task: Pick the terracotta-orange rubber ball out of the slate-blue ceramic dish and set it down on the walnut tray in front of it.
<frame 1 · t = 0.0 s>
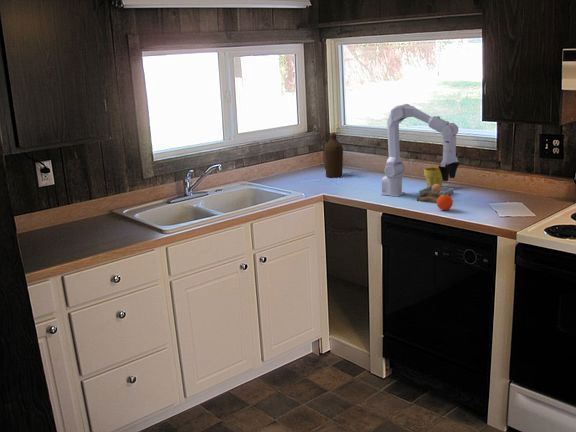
hand: (448, 179, 290), 10 cm above the counter, tool pointing down, fingers open, 7 cm apart
olive oil: (334, 176, 358), on the counter
plant pot: (434, 188, 320), on the counter
ball: (436, 188, 305), point 3 cm above the counter, touching dish
tray: (432, 200, 295), on the counter
clementine: (443, 210, 278), on the counter
dish: (436, 194, 306), on the counter
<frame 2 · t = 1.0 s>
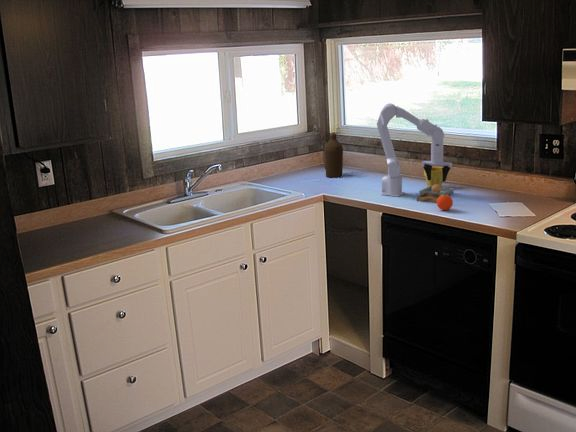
hand: (436, 180, 304), 7 cm above the counter, tool pointing down, fingers open, 7 cm apart
nothing on the counter moved.
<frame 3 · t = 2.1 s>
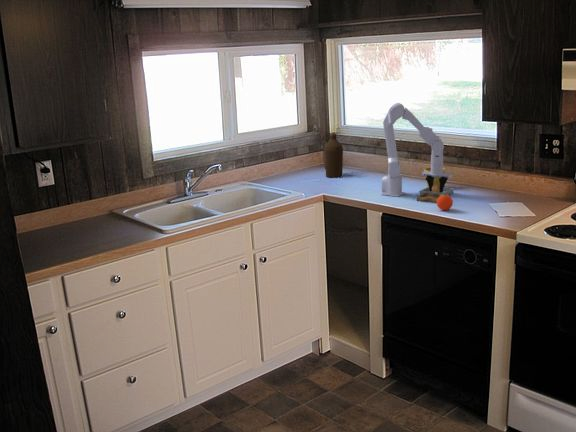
hand: (436, 191, 305), 1 cm above the counter, tool pointing down, fingers closed on ball, 4 cm apart
ball: (436, 188, 305), point 3 cm above the counter, touching dish, gripper
everything else where it was.
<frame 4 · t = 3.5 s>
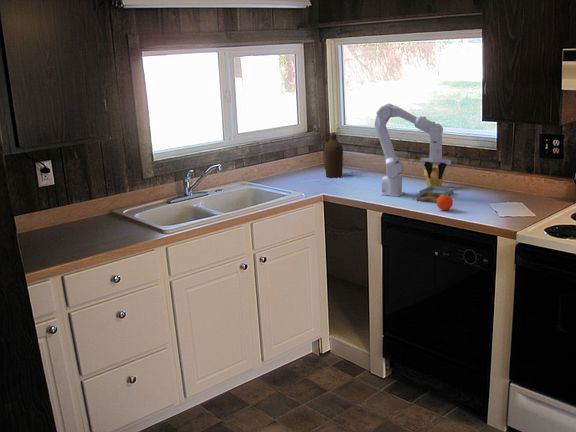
hand: (435, 178, 300), 9 cm above the counter, tool pointing down, fingers closed on ball, 4 cm apart
ball: (435, 175, 299), point 10 cm above the counter, touching gripper
everything else where it was.
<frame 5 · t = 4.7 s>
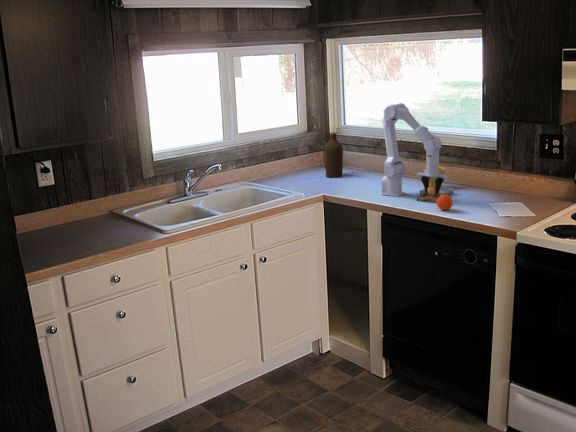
hand: (432, 192, 294), 4 cm above the counter, tool pointing down, fingers closed on ball, 4 cm apart
ball: (432, 189, 294), point 5 cm above the counter, touching gripper
everything else where it was.
when the fingers open (3 cm above the counter, at t = 5.3 s): ball drops 1 cm, resting on tray.
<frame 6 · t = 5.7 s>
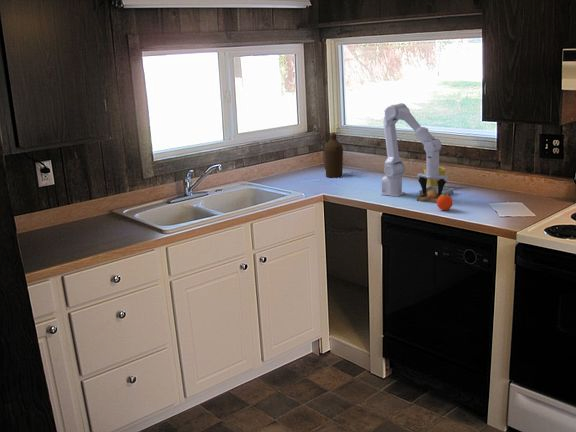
hand: (432, 194, 295), 3 cm above the counter, tool pointing down, fingers open, 7 cm apart
ball: (432, 193, 294), point 3 cm above the counter, touching tray
everything else where it was.
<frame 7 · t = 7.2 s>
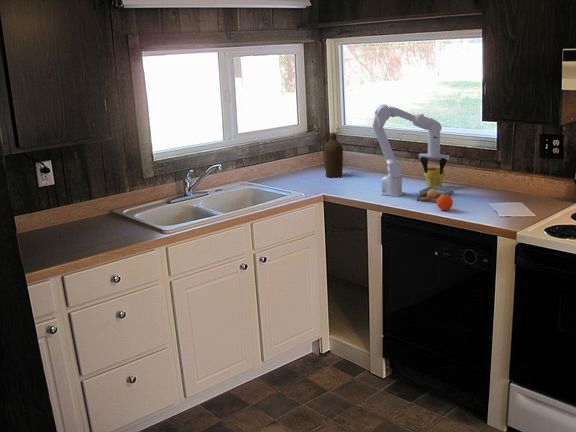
hand: (433, 173, 306), 10 cm above the counter, tool pointing down, fingers open, 7 cm apart
nothing on the counter moved.
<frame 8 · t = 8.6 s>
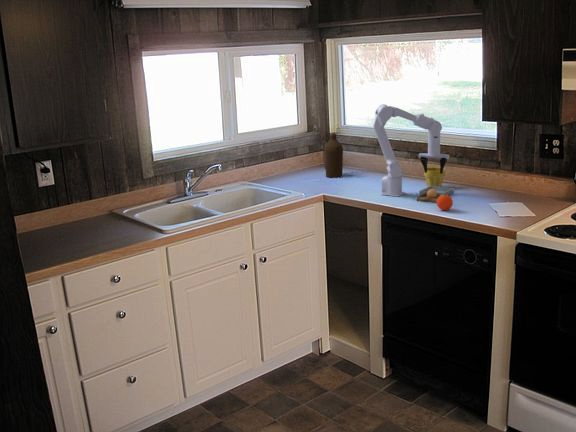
hand: (433, 172, 307), 10 cm above the counter, tool pointing down, fingers open, 7 cm apart
nothing on the counter moved.
at the end: ball inside the target area on the tray (0.1 cm from its centre), point 3.1 cm above the tray's base; ball touching tray; the gripper is holding nothing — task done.
